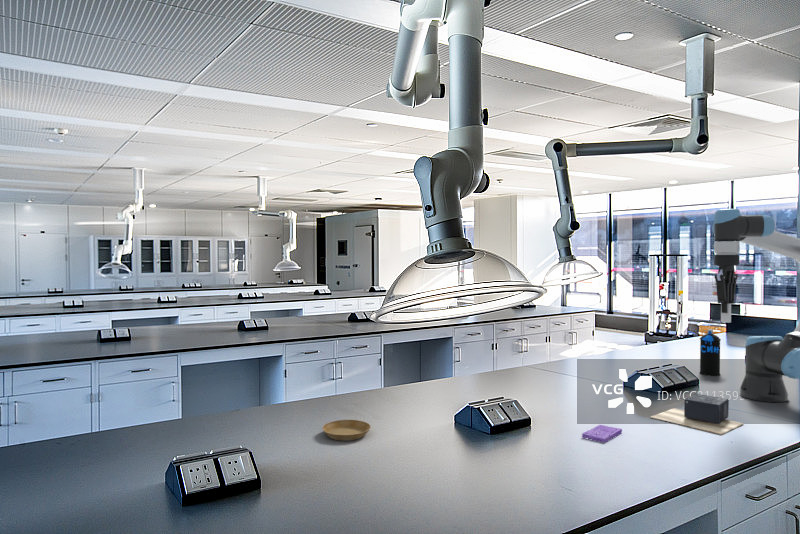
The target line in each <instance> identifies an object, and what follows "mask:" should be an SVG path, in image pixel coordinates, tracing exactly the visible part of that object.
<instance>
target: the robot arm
mask: <svg viewBox="0 0 800 534" xmlns="http://www.w3.org/2000/svg"><path fill="white" fill-rule="evenodd" d="M775 229H776V221H775V219H774V218H773V217H772V216H771V215H768V214H767V215H766V214H745V215H743V214H741V212H740V209H738V208H723V209H718V210H716V211H715V212H714V221H713V224H712V227H711V230H712V233H713V237H714V238H713V240H714V242H713V243H714V244H712V247H713V249H714V251H713V253H714V255H713V265H714V266H718V269H717V270H718V271H717V274H714V280H715V286H716V296H717V303H718V304H720V323H726V324H727V323H728V324H729V323H732V304H735V298H736V291H737V290H736V289H737V288H736V287H737V280H738V277H739V274H738V273H736V271H735V267H737V266H740V255H739V253H740V249H741V247H740V244H741V243H743V244H747V245H750V246H752V247H755V248H759V249H762V250H765V251H768V252H771V253H774V254H779V255H780V256H784V257H787V258H791V259H793V260H795V262H796V263H798V264H800V238H799V237H795V236H792V235H789V234H787V233H782V232H779V231H778V230H777V231H776V230H775ZM744 347H745V375H744V378H743V380H742V382H741V384H740V385H741V386H740V387H739V395H740V396H741V397H743V398H746V399H750V400H754V401H758V402H759V401H760V402H765V403H767V402H769V403H783V402H787V401H789V393H788V389H787V387H786V385H785V381H784V378H783V376H784V377H788V378H790V379H794V380H800V321H799V322H798V323H797V325H796V326H795V328H794V330H793V331H792V332H789V333H786V334H785V335H784V337H783V336H781V335H780V336H779V335H753V336H752V335H750V336H748V337H746V341H745V346H744Z"/></svg>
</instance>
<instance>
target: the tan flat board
mask: <svg viewBox="0 0 800 534" xmlns="http://www.w3.org/2000/svg"><path fill="white" fill-rule="evenodd" d="M649 418H650V419H653V420H657V421H661V420H662V421H661V422H665V421H667V422H666V423H669V422H671V424H673V423H676V424H675V425H677V424H680V425H679V426H682V425H684V426H683V427H686V426H689V427H688V428H690V427H693V428H692V429H694V428H696V429H695V430H698V429H699V431H701V432H702V431H703V432H707V433H711V434H715V435H719V436H722V435H724V434H726V433H729V432H731V431H733V430H736V429H737V428H739V427H741V426H743V425H744V423H743V422H739V421H734V420H729V419H727V418H726V419H725V420H723V421H722V422H721V423H719V424H717V423H712V422H707V421H702V420H696V419H691V418H686V417H684V409H679V408H677V407H674V408H670V409H667V410H665V411H663V412H660V413H657V414H654V415H650V417H649Z"/></svg>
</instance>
